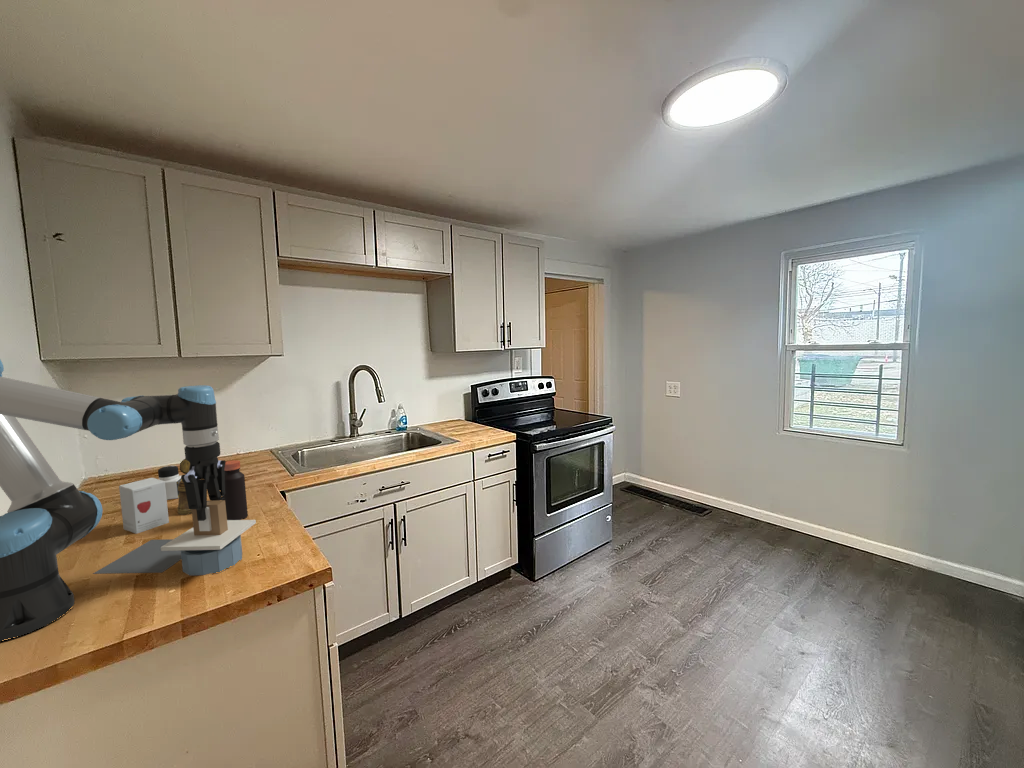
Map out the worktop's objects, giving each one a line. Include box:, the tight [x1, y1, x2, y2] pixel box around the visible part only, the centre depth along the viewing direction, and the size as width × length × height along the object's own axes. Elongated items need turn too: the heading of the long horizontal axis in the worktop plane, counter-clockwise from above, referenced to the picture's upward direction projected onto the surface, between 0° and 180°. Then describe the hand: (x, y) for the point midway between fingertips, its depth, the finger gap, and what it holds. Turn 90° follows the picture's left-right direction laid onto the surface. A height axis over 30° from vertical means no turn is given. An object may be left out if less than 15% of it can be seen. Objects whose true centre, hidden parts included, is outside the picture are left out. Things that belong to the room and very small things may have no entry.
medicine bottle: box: [157, 465, 183, 501], centre depth 160 cm, size 7×7×12 cm
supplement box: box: [118, 477, 170, 534], centre depth 134 cm, size 9×9×15 cm
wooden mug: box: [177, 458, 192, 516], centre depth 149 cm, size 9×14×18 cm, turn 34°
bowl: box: [181, 534, 243, 576], centre depth 112 cm, size 13×13×6 cm
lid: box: [161, 500, 257, 551], centre depth 111 cm, size 15×15×10 cm
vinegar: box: [221, 459, 249, 520], centre depth 139 cm, size 7×7×20 cm
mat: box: [92, 538, 182, 575], centre depth 116 cm, size 18×18×1 cm
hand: (210, 527), depth 111 cm, fingers closed on lid, 3 cm apart
